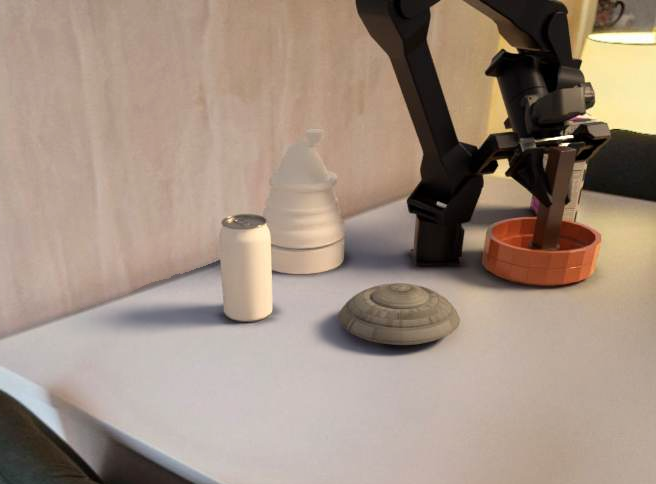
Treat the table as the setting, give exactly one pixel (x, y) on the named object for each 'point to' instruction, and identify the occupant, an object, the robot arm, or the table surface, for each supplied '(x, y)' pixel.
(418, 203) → the robot arm
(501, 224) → the bowl
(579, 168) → the candy bar box
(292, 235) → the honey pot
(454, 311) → the flying saucer
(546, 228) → the stick
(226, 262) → the can
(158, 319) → the table surface
